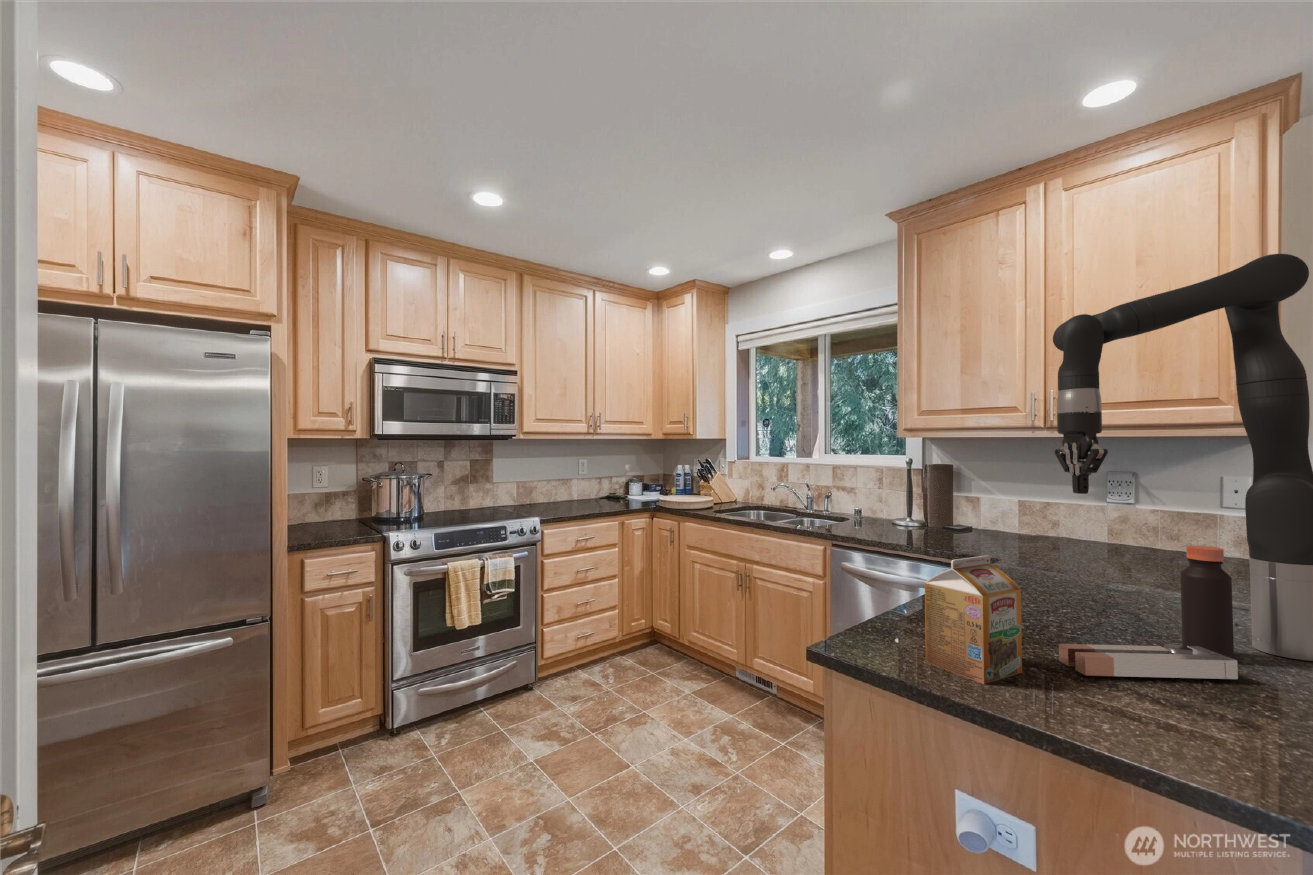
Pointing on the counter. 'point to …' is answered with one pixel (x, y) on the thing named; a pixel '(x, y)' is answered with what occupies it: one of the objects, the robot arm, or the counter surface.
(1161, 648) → the leg
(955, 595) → the milk carton
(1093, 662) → the tongs fixed leg
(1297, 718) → the counter surface
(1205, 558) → the bottle
